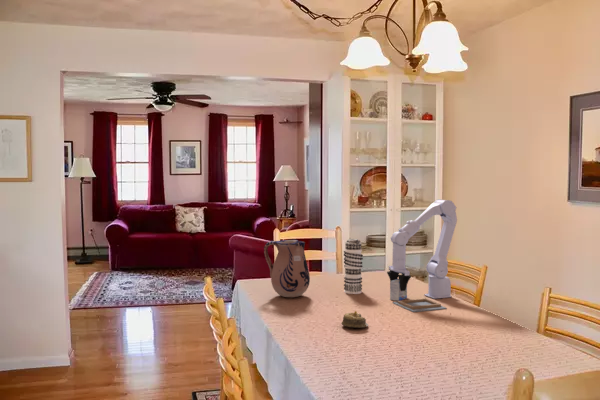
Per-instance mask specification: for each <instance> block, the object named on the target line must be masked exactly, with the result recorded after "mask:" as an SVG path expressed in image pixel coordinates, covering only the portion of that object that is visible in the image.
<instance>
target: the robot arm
mask: <svg viewBox="0 0 600 400" xmlns="http://www.w3.org/2000/svg"><path fill="white" fill-rule="evenodd" d="M456 210H457V206H456V205H455V203H454V202H453V201H452V200H449V199H436V200H435V201H434V202H431V204H429V206H428V207H426V209H425V210H424V211H423V212H422V213H421V214H420V215H419V216H418V217H416V218H415V219H414V220H412V219H410V220H407V221H406V222H405V223H406V224H405V225H403V226H402V227H401V228H398V231H395V232H393V233H392V234H391V237H390V241H391V242H392V264H391V265H389V266H388V271H387V272H386V274H387V275H388V277H389V281H392V280H396V279H399V281H400V289H401V291H406V287H407V288H408V283H409V281H410V279H411V277H412V275H411V274H410V273H411V272H410V270H408V269H407V267H406V254H407V252H406V251H407V249H406V248H407V245H406V244H408V243H409V240H410V239H411V238H412V237H414V235H415V234H417V233H418V232H419V231H420V227H421V226H422V225H423V224H424V223H426V222H427V221H428V220H429V219H431V218H432V217H433V216H437V215H438V216H440V217H441V219H442V220H443V223H442V227H441V230H440V234H439V238H438V241H437V245H436V248H435V251H434V252H435V253H434V254H433V255H432V256H431V257H430V259H429V261H428V263H427V264H426V267H425V268H426V272H427V273H428V291H427V292H428V293H425V294H424V296H426V297H428V298H431V299H434V300H435V299H436V300H437V299H446V298H452V295H451V291H452V288H451V287H452V286H451V285H452V282H451V279H450V277H449V276H447V275H448V273H449V270H448V266H449V261H448V259H447V258H448V257H447V256H448V253H449V250H450V246H451V243H452V240H453V236H454V233H455V229H456V225H457V222H458V219H457V218H458V217H457V212H456Z"/></svg>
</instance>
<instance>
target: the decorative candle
mask: <svg viewBox="0 0 600 400" xmlns="http://www.w3.org/2000/svg"><path fill="white" fill-rule="evenodd" d="M344 243H345V248H344V250H343V256H344V258H343V260H344V261H343V263H344V277H343V282H344V283H343V286H344V287H343V292H344V294H349V295H353V294H354V295H359V294H361V293H363V291H362V290H363V288H362V287H363V284H362V283H363V281H362V280H363V277H362V269H363V265H362V264H363V262H362V260H364V258H363V256H364V255H363V254H362V252H363V251H362V244H363V242H362V241H361V240H360V239H359V238H348V239H346V241H345V242H344Z"/></svg>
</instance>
